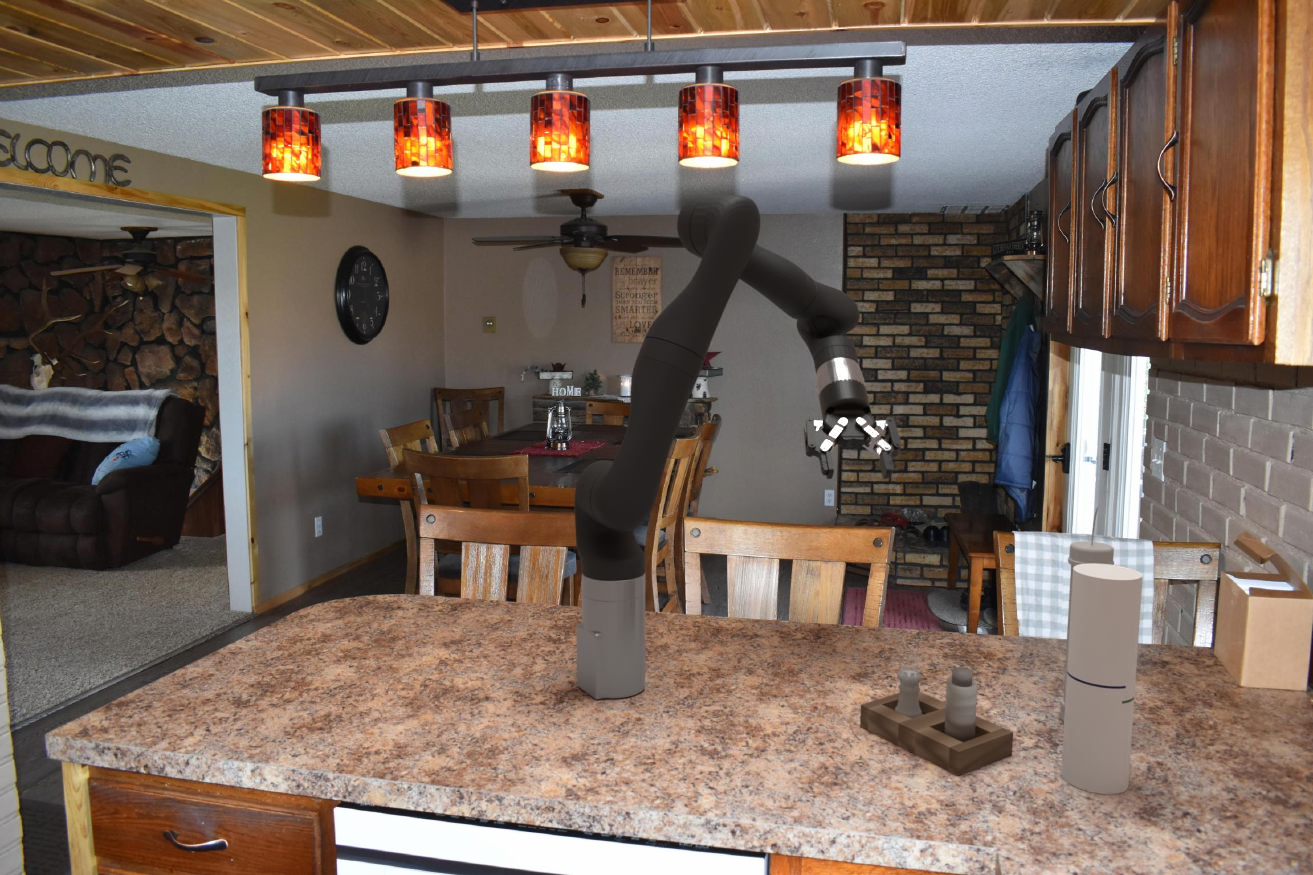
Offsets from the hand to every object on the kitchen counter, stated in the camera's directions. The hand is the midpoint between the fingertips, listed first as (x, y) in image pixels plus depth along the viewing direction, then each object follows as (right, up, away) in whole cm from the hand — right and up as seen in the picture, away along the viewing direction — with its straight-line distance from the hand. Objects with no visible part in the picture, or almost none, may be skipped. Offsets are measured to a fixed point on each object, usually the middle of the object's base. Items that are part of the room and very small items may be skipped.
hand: (859, 475), depth 136 cm
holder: (+5, -33, -19) cm, 38 cm away
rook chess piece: (+3, -33, -15) cm, 36 cm away
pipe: (+27, -33, -13) cm, 44 cm away
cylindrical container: (+21, -35, -28) cm, 50 cm away
